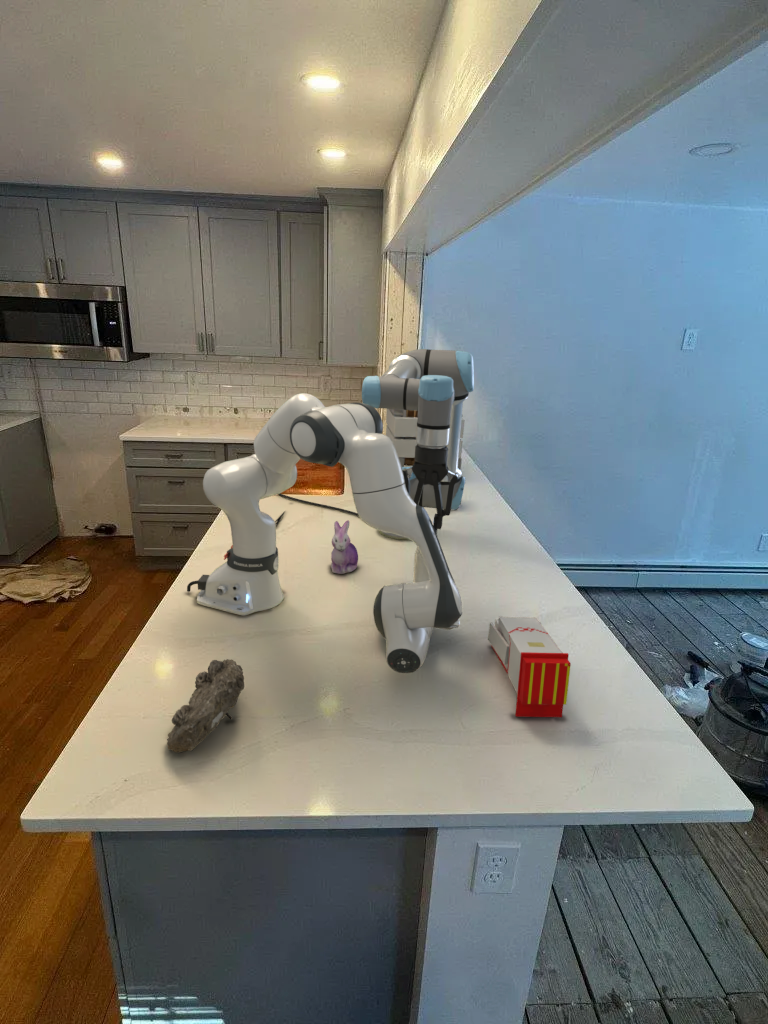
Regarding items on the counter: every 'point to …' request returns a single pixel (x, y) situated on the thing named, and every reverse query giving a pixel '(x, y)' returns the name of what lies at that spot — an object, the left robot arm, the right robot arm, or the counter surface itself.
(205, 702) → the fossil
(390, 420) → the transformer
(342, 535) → the figurine
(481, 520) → the counter surface
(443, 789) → the counter surface
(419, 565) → the bottle
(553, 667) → the toy
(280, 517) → the feather
